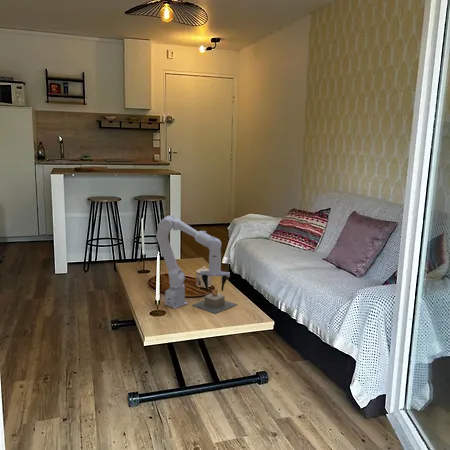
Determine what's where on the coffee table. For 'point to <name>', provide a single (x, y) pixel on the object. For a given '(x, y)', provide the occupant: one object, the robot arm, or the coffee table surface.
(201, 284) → the teacup with lid
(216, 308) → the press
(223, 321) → the coffee table surface
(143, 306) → the coffee table surface
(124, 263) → the coffee table surface
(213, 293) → the plunger
